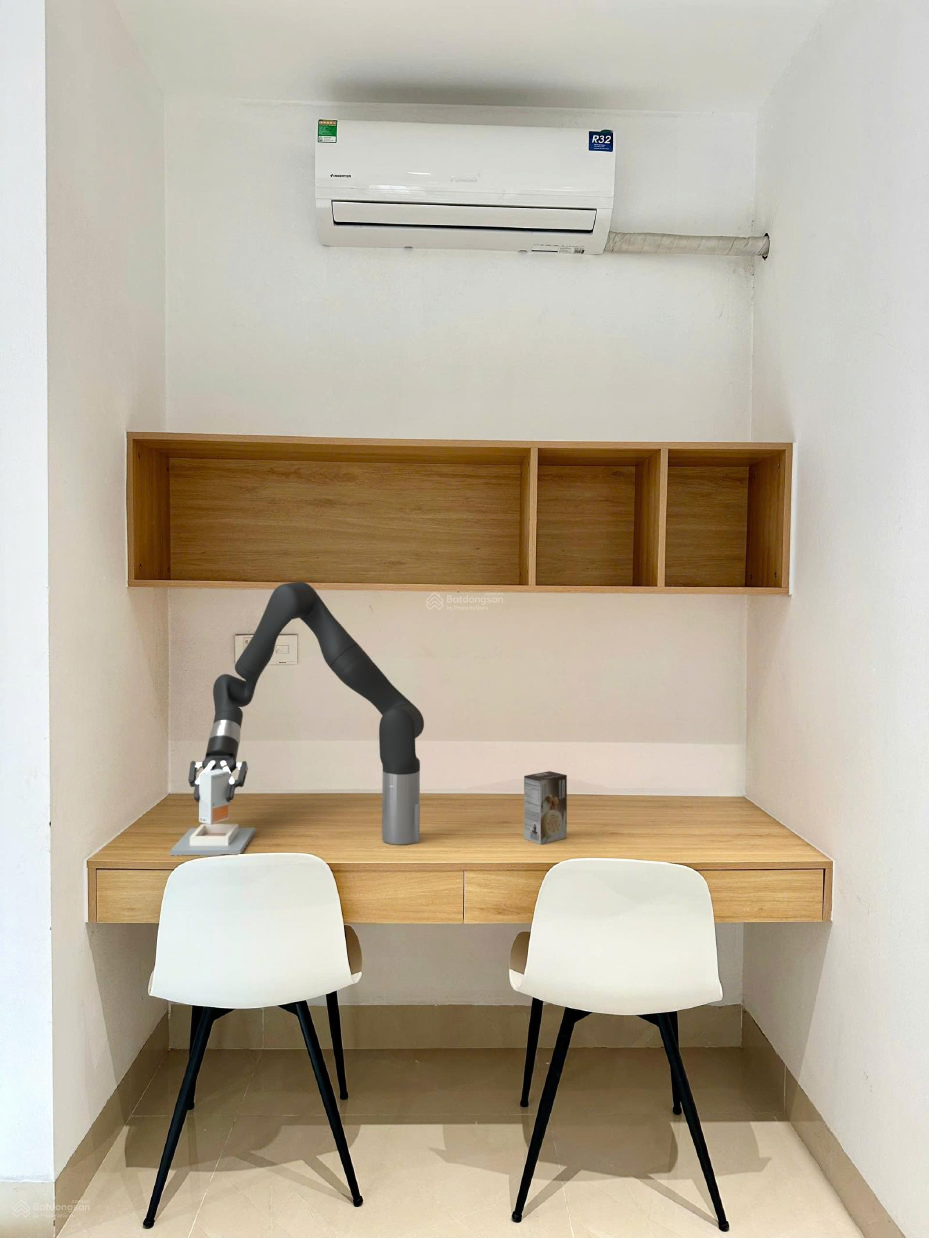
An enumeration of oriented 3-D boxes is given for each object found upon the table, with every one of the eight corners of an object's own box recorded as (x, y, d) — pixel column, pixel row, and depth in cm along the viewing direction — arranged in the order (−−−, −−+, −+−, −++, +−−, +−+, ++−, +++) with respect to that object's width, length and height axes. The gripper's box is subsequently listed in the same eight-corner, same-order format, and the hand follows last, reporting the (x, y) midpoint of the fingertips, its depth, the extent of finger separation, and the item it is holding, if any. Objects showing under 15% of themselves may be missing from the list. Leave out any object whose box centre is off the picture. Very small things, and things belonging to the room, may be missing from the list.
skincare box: (210, 825, 202) (210, 775, 201) (198, 822, 204) (198, 773, 204) (230, 819, 207) (230, 770, 207) (217, 816, 209) (217, 768, 209)
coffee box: (549, 832, 217) (550, 770, 217) (567, 838, 212) (568, 774, 212) (522, 838, 212) (523, 775, 211) (540, 845, 207) (541, 779, 206)
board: (255, 832, 215) (255, 819, 215) (240, 855, 197) (240, 841, 197) (190, 832, 214) (190, 820, 214) (170, 855, 196) (170, 842, 196)
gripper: (192, 733, 212) (179, 792, 201) (250, 734, 212) (240, 792, 201) (197, 750, 217) (185, 808, 206) (254, 750, 218) (245, 808, 207)
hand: (212, 800), depth 204 cm, fingers closed on skincare box, 6 cm apart
